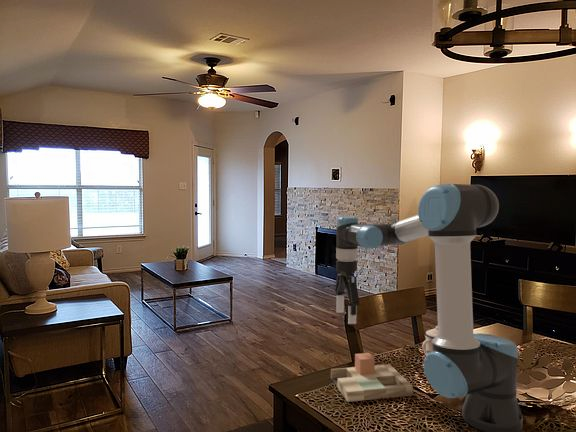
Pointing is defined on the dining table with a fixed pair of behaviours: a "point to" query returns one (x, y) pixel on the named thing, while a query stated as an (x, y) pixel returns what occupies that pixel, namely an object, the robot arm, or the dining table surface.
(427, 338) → the teacup with lid
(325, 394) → the dining table surface
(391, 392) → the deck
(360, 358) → the block
